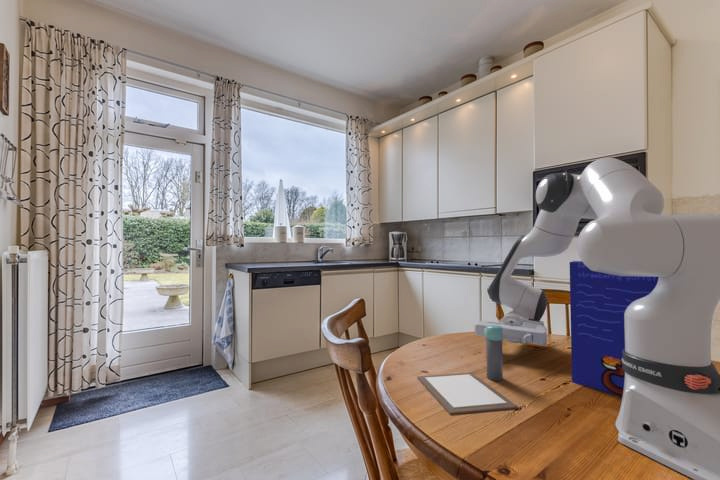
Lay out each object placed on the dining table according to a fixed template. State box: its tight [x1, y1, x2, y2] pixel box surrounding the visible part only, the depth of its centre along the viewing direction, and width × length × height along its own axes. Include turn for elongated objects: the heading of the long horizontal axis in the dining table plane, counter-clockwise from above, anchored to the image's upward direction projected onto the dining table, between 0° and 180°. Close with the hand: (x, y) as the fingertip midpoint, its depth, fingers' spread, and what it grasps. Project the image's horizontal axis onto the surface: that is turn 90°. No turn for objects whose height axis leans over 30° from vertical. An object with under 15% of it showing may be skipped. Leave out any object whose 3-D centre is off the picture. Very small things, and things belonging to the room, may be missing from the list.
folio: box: [416, 372, 519, 415], centre depth 77 cm, size 19×15×1 cm
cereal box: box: [569, 260, 659, 398], centre depth 76 cm, size 22×6×30 cm, turn 36°
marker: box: [485, 325, 504, 382], centre depth 85 cm, size 4×4×13 cm
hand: (504, 337), depth 95 cm, fingers open, 8 cm apart
